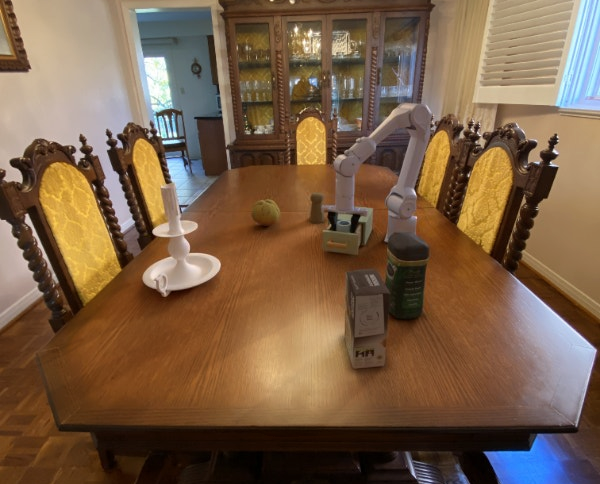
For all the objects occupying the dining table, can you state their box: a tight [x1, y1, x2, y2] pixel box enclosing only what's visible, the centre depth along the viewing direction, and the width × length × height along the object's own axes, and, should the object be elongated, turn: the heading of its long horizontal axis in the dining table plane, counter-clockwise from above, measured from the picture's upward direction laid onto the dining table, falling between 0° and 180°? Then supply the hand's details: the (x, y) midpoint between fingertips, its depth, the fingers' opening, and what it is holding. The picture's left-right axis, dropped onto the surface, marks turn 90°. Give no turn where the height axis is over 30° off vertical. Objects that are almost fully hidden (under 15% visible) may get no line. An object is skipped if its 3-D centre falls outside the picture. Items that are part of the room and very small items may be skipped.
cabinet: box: [327, 205, 374, 247], centre depth 121 cm, size 15×13×8 cm
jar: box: [336, 220, 351, 233], centre depth 111 cm, size 5×5×6 cm
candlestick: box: [141, 182, 221, 298], centre depth 90 cm, size 21×25×28 cm
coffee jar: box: [384, 231, 430, 320], centre depth 78 cm, size 10×8×19 cm
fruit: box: [250, 198, 281, 227], centre depth 132 cm, size 11×12×10 cm
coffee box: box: [343, 268, 390, 369], centre depth 66 cm, size 9×6×16 cm
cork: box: [309, 192, 326, 224], centre depth 136 cm, size 6×6×11 cm
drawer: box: [321, 224, 363, 256], centre depth 111 cm, size 18×11×7 cm, turn 160°
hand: (343, 235), depth 112 cm, fingers closed on jar, 5 cm apart
